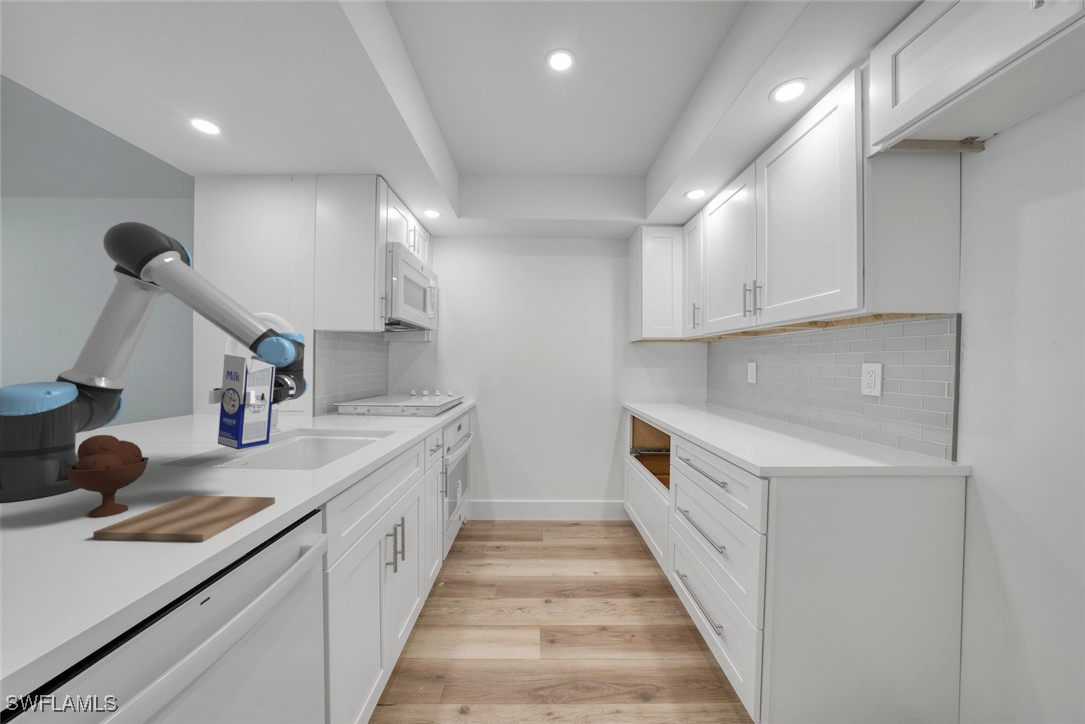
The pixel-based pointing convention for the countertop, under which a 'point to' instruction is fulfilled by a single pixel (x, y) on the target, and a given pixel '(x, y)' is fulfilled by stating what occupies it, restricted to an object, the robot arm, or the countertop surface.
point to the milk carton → (238, 418)
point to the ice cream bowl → (106, 470)
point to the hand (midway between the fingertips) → (230, 397)
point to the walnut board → (186, 519)
